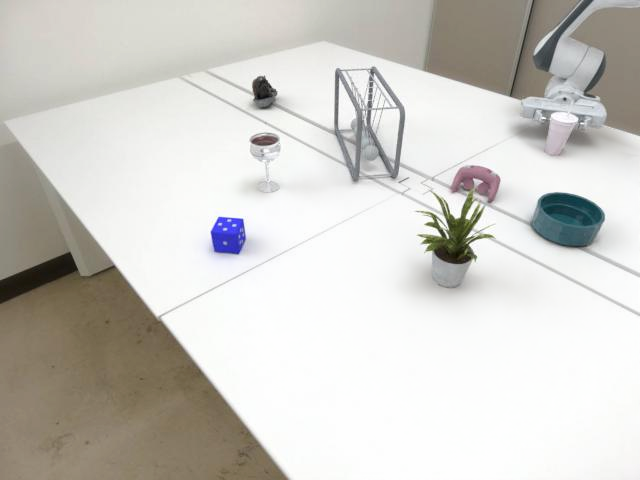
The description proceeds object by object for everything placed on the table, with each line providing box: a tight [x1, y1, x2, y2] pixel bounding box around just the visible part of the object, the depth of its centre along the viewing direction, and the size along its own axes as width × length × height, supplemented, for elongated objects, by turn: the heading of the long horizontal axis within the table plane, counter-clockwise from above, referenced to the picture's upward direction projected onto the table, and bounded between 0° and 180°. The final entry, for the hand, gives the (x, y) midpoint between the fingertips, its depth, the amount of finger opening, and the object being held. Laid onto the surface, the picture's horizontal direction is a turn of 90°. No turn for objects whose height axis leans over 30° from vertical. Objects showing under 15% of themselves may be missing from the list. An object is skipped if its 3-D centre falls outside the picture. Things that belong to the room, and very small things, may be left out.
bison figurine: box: [251, 75, 278, 108], centre depth 141 cm, size 12×7×10 cm, turn 178°
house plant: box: [414, 186, 497, 289], centre depth 78 cm, size 14×14×16 cm
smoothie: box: [544, 100, 578, 156], centre depth 114 cm, size 6×6×14 cm
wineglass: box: [248, 131, 282, 193], centre depth 102 cm, size 7×7×12 cm
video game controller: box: [450, 164, 502, 203], centre depth 102 cm, size 10×5×7 cm, turn 59°
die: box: [210, 216, 247, 255], centre depth 88 cm, size 5×5×5 cm
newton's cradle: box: [333, 65, 406, 181], centre depth 113 cm, size 30×10×18 cm, turn 8°
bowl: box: [530, 191, 606, 247], centre depth 92 cm, size 12×12×5 cm
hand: (562, 124), depth 115 cm, fingers open, 8 cm apart
